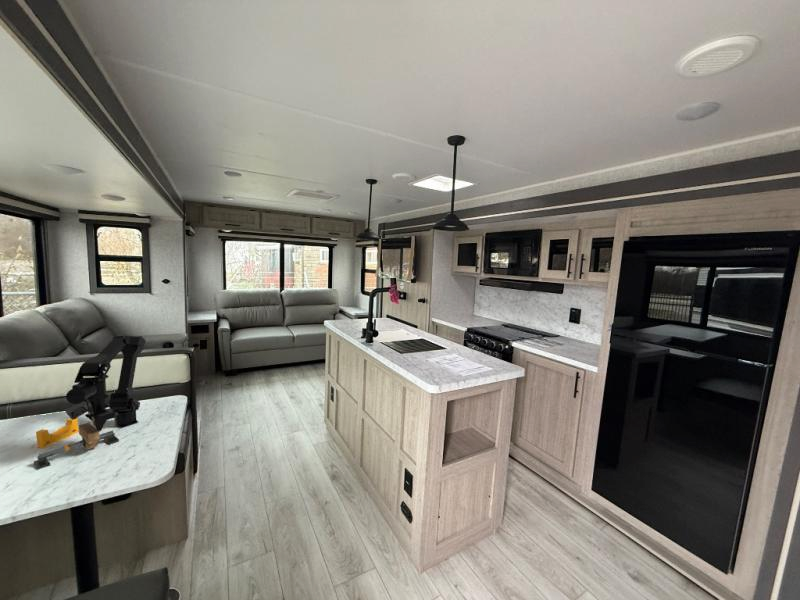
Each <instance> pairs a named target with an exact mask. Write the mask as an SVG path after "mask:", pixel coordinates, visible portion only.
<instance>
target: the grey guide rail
mask: <svg viewBox="0 0 800 600" xmlns="http://www.w3.org/2000/svg"><path fill="white" fill-rule="evenodd" d="M115 435H116V433H115V432H114V431H113V430H110V431H107V432H104V433H99V437H100V441H101V440H104V442H106V443H107V444H108V445H109V446H111V445H113V444H115V443H119V442H120V439H119V438H118V437H117V436H115ZM83 445H85V440H82V439H81V440H79V441H76V442H73V443H68V444H66V445H63V446H59V447H57V448H54V449H51V450H48V451H44V452H41V453H38V455H37V456H36V457H37V459H36V460H34V461H33V464H34V466H35V467H36V469H37V470H40V469H43V468H47V467H49V466H51V462H50V461H49V459H48V458H49V457H52V456H56V455H58V454H63V453H64V452H65V453H66V452H69V451H71V450H73V449H77V448H81V447H83Z"/></svg>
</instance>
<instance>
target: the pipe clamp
mask: <svg viewBox="0 0 800 600" xmlns="http://www.w3.org/2000/svg"><path fill="white" fill-rule="evenodd" d="M78 421H79V419H78V418H76V419H74V420H72V419H71V418H70V417H68V418H67V419H66V423H65V425H64V426H62V427H60V428H58V429H57V430H55V431H54V432H52V433H49V430H48V429H45V428H42V429H40V430H37V431H36V432H35V434H36V447H37V448H40V449H44V448H47V447H48V446H52V445H54V444H56V443H58V442H60V441H62V440H64V439H66V438H69V437H72V436H73V435H75V434H79V422H78Z"/></svg>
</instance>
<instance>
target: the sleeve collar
mask: <svg viewBox="0 0 800 600" xmlns="http://www.w3.org/2000/svg"><path fill="white" fill-rule="evenodd" d="M78 431H79V432H78V434H79V435H80V436H81V441H82V440H85V445H83V446H82V447H83V448H84V449H85V450H86V451H88V450H91V449H94V448H97V447H98V442H100V441H101V440H100V437H99V435H100V432H99V431H98V430H97V429H96V428H95V426H94V425H92V423H90V422H85V423H81V424H78Z"/></svg>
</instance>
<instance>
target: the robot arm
mask: <svg viewBox="0 0 800 600" xmlns="http://www.w3.org/2000/svg"><path fill="white" fill-rule="evenodd" d="M145 345H146V339H145V337H143V336H142V335H127V334H117V335H114V336H113V337H112V340H111V341H110V342H108V343H107V345H106V346H105V347H103V349H102V350H101V351H100V352H99V353H98V354H97V355H96V356H92V357H91V358H90V357H89V358H88V359H87V360H85V361H84V362H82V364H81V365H80V367H79V369H78V372H77V374H76V376H75V379H74V383H73V385H72V386H71V389H69V390H68V391H67V393H66V395H65V399H66V401H67V402H68V403H70V404H72V405H71V407H68V408H66V409H65V410H64V411H65V413H66V415H67V416H68V418H71V419H72V420H74V419H76V418H77V419H78V418H79V417H80V416H82V415H84V416H85V417H86V418H88V420H90V421H91V422H92V423H93V426H94V427H95V428H96V429H97V430H98V431H99V433H100V432H101V431H102V430H103V428H104V426H105V424H106V422H107V421H108V420H111V419H114V425H115V426H117V427H118V428H119V429H122V428H126V427H129V426H131V425H134V424H138V423H139V421H138V420H137V411H138V410H139V409H140V407H141V402H140V401H139V400H138V399H136V394H137V393H136V392H135V391H134V389H133V383H134V379H135V378H134V377H135V373H136V367H137V366H136V365H137V360H138V356H139V355H140V354H141V353H142V352H143V350H144V347H145ZM120 352H121V353H122V361H121V368H120V374H119V379H118V385H117V388H116V390H115V391H114V392H111V394H110V395H109V394H108V393H107V382H106V380H107V379H108V378H109V375H107V374H108V373H109V371H110V369H111V367H112V366H111V363H112V361H113V360H114V359H115V358H116V357H117V355H118V354H120ZM109 396H110V397H109ZM108 398H109V401H108Z"/></svg>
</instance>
